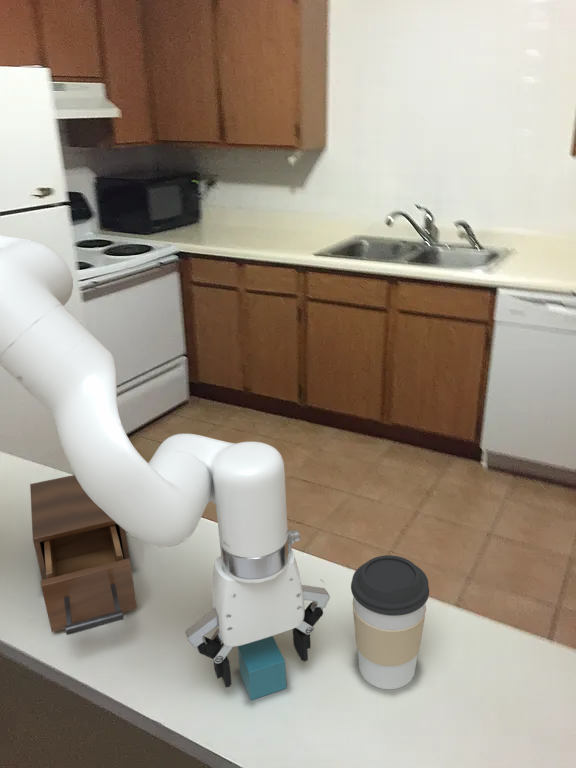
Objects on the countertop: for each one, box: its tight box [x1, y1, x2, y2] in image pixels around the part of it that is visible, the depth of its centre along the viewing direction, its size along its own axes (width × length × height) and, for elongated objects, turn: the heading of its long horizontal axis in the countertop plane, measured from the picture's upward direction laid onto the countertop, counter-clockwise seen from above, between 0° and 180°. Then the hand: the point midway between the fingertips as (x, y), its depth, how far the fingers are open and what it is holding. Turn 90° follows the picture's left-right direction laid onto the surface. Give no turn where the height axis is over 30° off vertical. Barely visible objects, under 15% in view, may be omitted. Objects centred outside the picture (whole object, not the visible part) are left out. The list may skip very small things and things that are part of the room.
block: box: [237, 635, 287, 701], centre depth 81 cm, size 4×4×4 cm
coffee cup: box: [350, 554, 430, 690], centre depth 80 cm, size 9×9×15 cm
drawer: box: [40, 525, 138, 636], centre depth 93 cm, size 21×11×8 cm, turn 21°
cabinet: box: [29, 474, 133, 580], centre depth 104 cm, size 16×13×10 cm
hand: (263, 665), depth 81 cm, fingers open, 9 cm apart
